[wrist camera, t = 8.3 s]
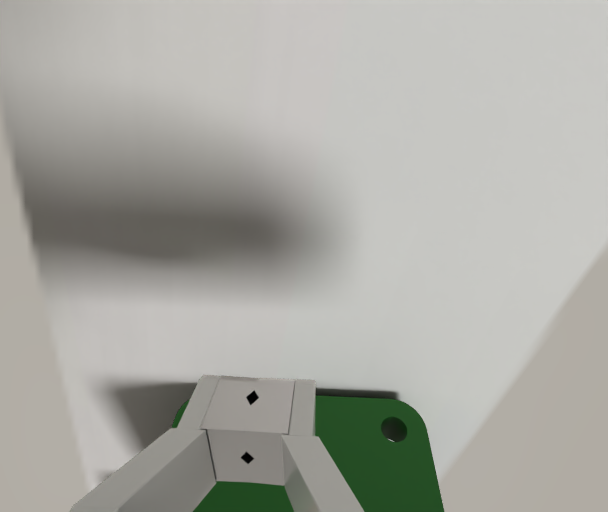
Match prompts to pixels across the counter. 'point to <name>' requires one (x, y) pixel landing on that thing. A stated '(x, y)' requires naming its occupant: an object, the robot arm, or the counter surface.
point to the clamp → (353, 460)
